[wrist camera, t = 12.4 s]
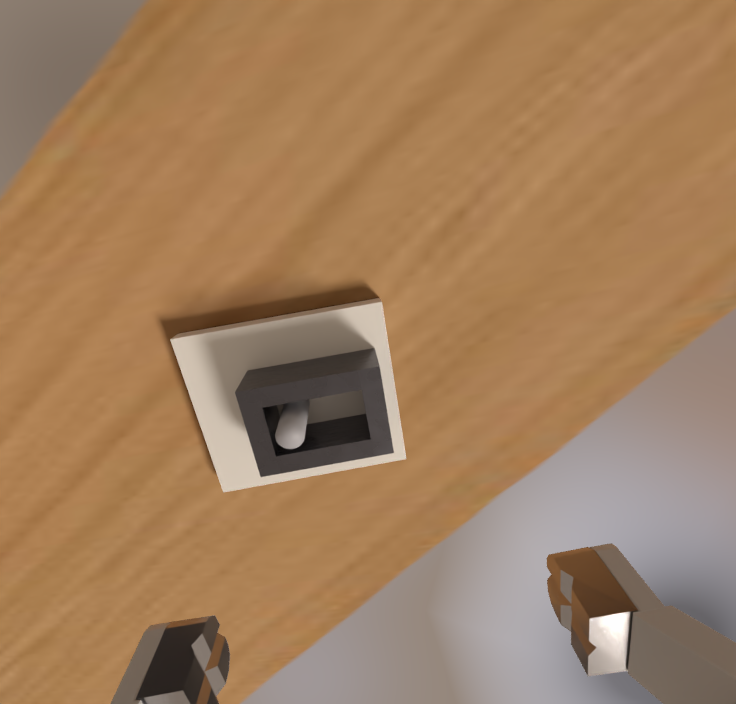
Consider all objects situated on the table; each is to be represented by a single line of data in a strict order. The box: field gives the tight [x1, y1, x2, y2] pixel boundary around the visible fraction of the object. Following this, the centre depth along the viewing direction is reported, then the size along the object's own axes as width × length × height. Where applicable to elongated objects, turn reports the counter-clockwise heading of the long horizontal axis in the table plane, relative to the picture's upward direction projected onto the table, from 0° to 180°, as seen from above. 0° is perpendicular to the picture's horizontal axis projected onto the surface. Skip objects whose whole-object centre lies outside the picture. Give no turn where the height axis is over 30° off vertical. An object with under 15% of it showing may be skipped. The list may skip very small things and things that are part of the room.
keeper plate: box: [170, 298, 406, 492], centre depth 30 cm, size 16×14×6 cm
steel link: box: [235, 348, 394, 477], centre depth 30 cm, size 10×7×4 cm
